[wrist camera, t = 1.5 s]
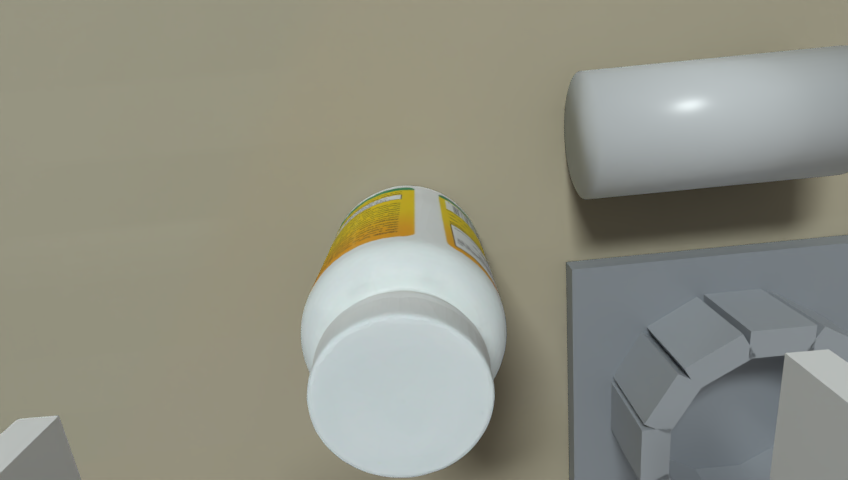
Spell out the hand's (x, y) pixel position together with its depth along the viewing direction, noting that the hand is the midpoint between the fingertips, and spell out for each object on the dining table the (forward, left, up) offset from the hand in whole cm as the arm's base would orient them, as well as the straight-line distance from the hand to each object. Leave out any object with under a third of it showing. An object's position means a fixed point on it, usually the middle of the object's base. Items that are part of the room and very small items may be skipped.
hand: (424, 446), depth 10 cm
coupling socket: (+12, -7, -11) cm, 17 cm away
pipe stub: (+10, +4, -11) cm, 15 cm away
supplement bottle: (0, 0, -11) cm, 11 cm away
